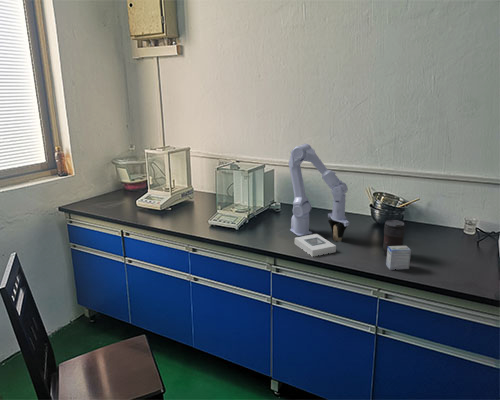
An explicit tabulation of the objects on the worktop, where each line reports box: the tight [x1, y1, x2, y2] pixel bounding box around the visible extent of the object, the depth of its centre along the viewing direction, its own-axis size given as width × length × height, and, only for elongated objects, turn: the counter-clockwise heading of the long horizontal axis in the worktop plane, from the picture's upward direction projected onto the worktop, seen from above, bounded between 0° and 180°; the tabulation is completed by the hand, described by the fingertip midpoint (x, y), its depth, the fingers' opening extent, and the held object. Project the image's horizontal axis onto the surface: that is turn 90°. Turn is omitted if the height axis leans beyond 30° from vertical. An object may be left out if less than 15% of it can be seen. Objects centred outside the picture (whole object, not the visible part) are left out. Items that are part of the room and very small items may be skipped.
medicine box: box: [385, 245, 412, 271], centre depth 162 cm, size 8×4×9 cm, turn 92°
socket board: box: [294, 233, 337, 258], centre depth 183 cm, size 16×12×3 cm
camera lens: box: [382, 219, 406, 258], centre depth 172 cm, size 8×8×15 cm
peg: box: [332, 224, 343, 242], centre depth 191 cm, size 4×4×7 cm
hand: (337, 235), depth 192 cm, fingers closed on peg, 4 cm apart
